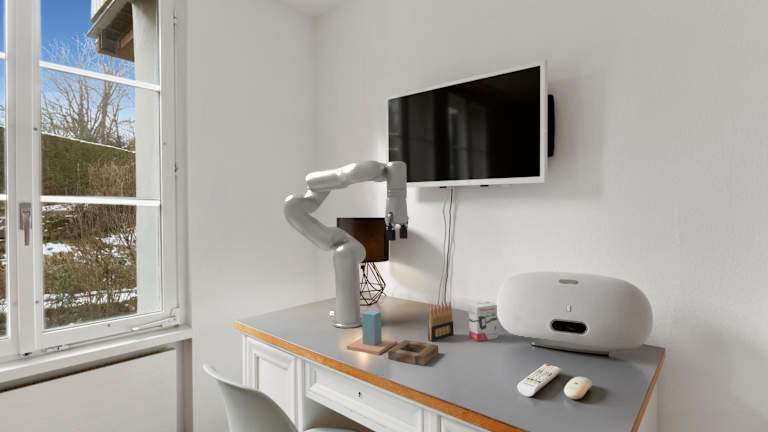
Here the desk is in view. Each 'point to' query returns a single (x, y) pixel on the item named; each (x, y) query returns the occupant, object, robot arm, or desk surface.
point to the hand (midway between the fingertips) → (397, 239)
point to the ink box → (483, 321)
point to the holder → (413, 352)
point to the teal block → (371, 327)
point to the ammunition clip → (440, 322)
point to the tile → (376, 349)
